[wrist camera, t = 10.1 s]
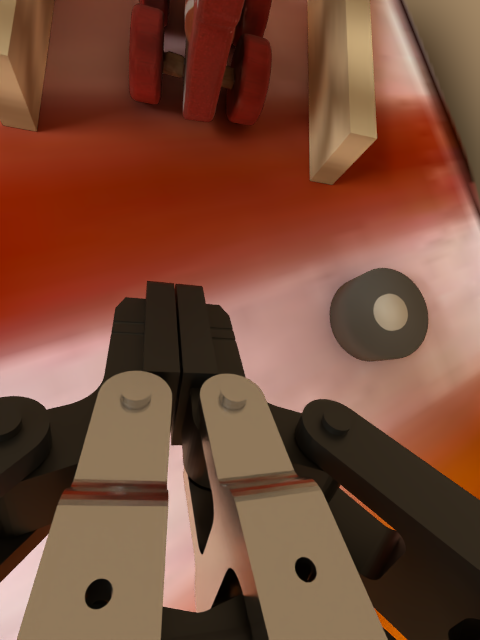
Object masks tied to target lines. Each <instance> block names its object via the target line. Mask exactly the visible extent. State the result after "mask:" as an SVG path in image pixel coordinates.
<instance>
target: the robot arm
mask: <svg viewBox="0 0 480 640" xmlns="http://www.w3.org/2000/svg"><path fill="white" fill-rule="evenodd" d="M232 329H233V328H232V325H231V321H230V317H229V315H228V314H227V313H226V312H225V311H224V310H223V309H222V308H221V306H220V305H212V304H206V303H205V297H204V292H203V287H202V286H195V285H184V284H176V285H175V288H174V283H164V282H153V281H147V288H146V299H139V298H127V297H126V298H125V299H124V300H123V301H122V302H121V303H120V304H119V305H118V306H117V307H116V308H115V314H114V320H113V327H112V334H111V339H110V345H109V351H108V357H107V363H106V369H105V375H104V379H103V381H102V383H101V385H100V386H99V387H98V389H97V390H96V391H94V392H93V393H92V394H91V395H89V396H88V397H86V398H84V399H82V400H80V401H78V402H75V403H72V404H69V405H65V406H60V407H56V408H52V409H48V410H46V409H45V407H44V406H43V405H42V404H40V403H39V402H37V401H35V400H33V399H30V398H26V397H19V396H9V397H1V398H0V582H1V581H2V580H3V579H4V578H5V577H6V576H7V575H8V574H9V573H10V572H11V571H12V570H13V569H14V568H15V567H16V566H17V565H18V564H19V563H20V562H21V561H22V560H23V559H24V558H25V557H26V556H27V555H28V554H29V553H30V552H31V551H32V550H33V549H34V548H35V547H36V546H37V545H38V544H39V543H40V542H41V541H42V540H43V539H44V538H45V537H46V536H47V535H48V534H49V535H48V538H47V541H46V545H45V548H44V551H43V555H42V558H41V561H40V564H39V568H38V571H37V574H36V578H35V581H34V584H33V588H32V591H31V594H30V598H29V601H28V604H27V607H26V611H25V614H24V617H23V621H22V624H21V627H20V631H19V634H18V637H17V640H396V639H395V638H394V637H393V636H392V635H391V634H390V633H389V632H388V631H386V630H385V629H384V628H383V627H382V625H381V623H380V621H379V619H378V616H377V614H376V612H375V610H374V608H375V609H376V610H377V611H378V612H379V613H380V614H381V615H383V616H384V617H385V618H386V619H387V620H388V621H389V622H390V623H391V624H392V625H393V626H394V627H395V628H396V629H397V630H398V631H399V632H400V633H401V634H402V635H403V636H404V637H405V638H407V639H408V640H480V500H479V499H477V498H476V497H474V496H473V495H472V494H470V493H469V492H467V491H466V490H464V489H463V488H462V487H460V486H459V485H457V484H456V483H455V482H453V481H452V480H450V479H449V478H447V477H446V476H445V475H443V474H442V473H440V472H439V471H437V470H436V469H435V468H433V467H432V466H430V465H429V464H428V463H426V462H425V461H423V460H422V459H420V458H419V457H418V456H416V455H415V454H413V453H412V452H411V451H409V450H408V449H406V448H405V447H403V446H402V445H401V444H399V443H398V442H396V441H395V440H394V439H392V438H391V437H389V436H388V435H386V434H385V433H384V432H382V431H381V430H379V429H378V428H376V427H375V426H374V425H372V424H371V423H369V422H368V421H367V420H365V419H364V418H362V417H361V416H359V415H358V414H357V413H355V412H354V411H352V410H351V409H349V408H348V407H346V406H345V405H343V404H341V403H338V402H335V401H332V400H326V399H319V400H314V401H312V402H310V403H308V404H307V405H306V406H305V408H304V410H303V412H302V413H299V412H295V411H292V410H288V409H284V408H281V407H277V406H274V405H272V404H270V403H267V401H266V399H265V396H264V394H263V392H262V391H261V389H260V388H259V387H258V386H257V385H256V384H255V383H254V382H252V381H251V380H249V379H247V378H245V374H244V370H243V366H242V362H241V359H240V355H239V351H238V347H237V343H236V341H235V336H234V332H233V331H232ZM170 432H171V445H182V449H183V463H184V471H183V479H184V486H185V493H186V500H187V507H188V514H189V521H190V528H191V536H192V543H193V550H194V557H195V604H196V612H189V611H183V610H178V609H172V608H167V607H163V589H164V571H165V553H166V535H167V518H168V490H167V473H168V457H169V440H170ZM340 485H342V486H343V487H344V488H345V489H347V490H348V491H349V492H350V493H352V494H353V495H354V496H355V497H356V498H358V499H359V500H360V501H361V502H362V503H364V504H365V505H366V506H367V507H369V508H370V509H371V510H372V511H373V512H375V513H376V514H377V515H378V516H379V517H381V518H382V519H383V520H384V521H385V522H387V523H388V524H389V525H390V526H392V527H393V528H394V529H395V530H392V529H390V528H388V527H386V526H385V525H383V524H382V523H381V522H380V521H378V520H377V519H376V518H375V517H374V516H372V515H371V514H370V513H369V512H368V511H366V510H365V509H364V508H363V507H362V506H360V505H359V504H358V503H357V502H356V501H354V500H353V499H352V498H351V497H349V496H348V495H347V494H346V493H345V492H343V491H342V490H341V489H340V488H339V487H340Z"/></svg>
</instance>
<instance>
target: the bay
mask: <svg viewBox="0 0 480 640" xmlns="http://www.w3.org/2000/svg"><path fill="white" fill-rule="evenodd" d="M54 2H55V0H0V120H1V122H2V124H3V125H4V126H9V127H15V128H20V129H26V130H32V131H37V126H38V119H39V112H40V104H41V97H42V90H43V82H44V75H45V68H46V60H47V53H48V46H49V38H50V31H51V24H52V16H53V9H54ZM307 16H308V83H309V151H310V181H314V182H319V183H325V184H330V185H333V183H334V182H335V181H336V180H337V179H338V178H339V177H340V176H341V175H342V174H343V173H344V172H345V171H346V170H347V169H348V168H349V167H350V166H351V165H352V164H353V163H354V162H355V161H356V160H357V159H358V158H359V157H360V156H361V155H362V154H363V153H364V152H365V151H366V149H367V148H368V147H369V146H370V145H371V144H372V143H373V142H374V141H375V140H376V139H377V127H376V108H375V89H374V70H373V51H372V31H371V12H370V0H307Z"/></svg>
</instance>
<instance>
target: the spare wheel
mask: <svg viewBox="0 0 480 640" xmlns="http://www.w3.org/2000/svg"><path fill="white" fill-rule="evenodd" d="M330 323H331V328H332V331H333V334H334V336H335V338H336V340H337V341H338V343H339V344H340V346H341V347H342V348H343V349H344V350H345V351H346V352H347V353H349V354H350V355H352V356H353V357H355V358H357V359H360V360H363V361H381V360H390V359H398V358H403V357H406V356H408V355H410V354H412V353H413V352H414V351H416V350H417V349H418V348H419V346H420V345H421V344H422V342H423V340H424V338H425V335H426V332H427V328H428V311H427V306H426V303H425V300H424V298H423V296H422V294H421V292H420V290H419V289H418V287H417V286H416V285H415V284H414V283H413V282H412V281H411V280H410V279H409V278H408V277H407V276H405V275H404V274H402V273H400V272H398V271H396V270H393V269H388V268H378V269H373V270H371V271H368V272H366V273H364V274H362V275H360V276H358V277H356V278H354V279H352V280H350V281H348V282H347V283H345V284H344V285H342V286H341V287H340V288H339V289H338V291H337V292H336V293H335V295H334V297H333V299H332V302H331V307H330Z"/></svg>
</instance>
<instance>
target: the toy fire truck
mask: <svg viewBox="0 0 480 640" xmlns="http://www.w3.org/2000/svg"><path fill="white" fill-rule="evenodd" d="M169 1H170V0H140V4H137V5H135V6H134V8H133V9H132V15H131V27H130V47H129V89H130V95H131V98H132V99H134V100H136V101H139V102H145V103H149V104H158V102H159V101H160V96H161V81H162V74H163V73H164V74H168V75H171V76H175V77H178V78H181V77H183V80H184V81H183V117H184V118H185V119H188V120H196V121H203V122H210V121H212V119H213V117H214V114H215V110H216V106H217V102H218V97H219V93H220V89H221V87H225V88H227V97H226V113H227V117H228V119H229V120H230V121H231V122H234V123H239V124H244V125H253V124H254V123H255V122H256V121H257V119H258V118H259V116H260V113H261V111H262V109H263V105H264V102H265V98H266V94H267V90H268V85H269V79H270V73H271V61H272V54H271V47H270V43H269V41H268V40H267V39H265V38H262V37H263V34H264V31H265V28H266V24H267V20H268V16H269V12H270V7H271V2H272V0H186V2H185V33H186V50H185V58H184V57H183V56H182V55H179V54H176V53H173V52H170V51H169V52H164V51H163V46H164V26H166V25H167V24H168V14H169ZM232 43H233V45H235V46H236V47H235V50H234V54H233V58H232V62H231V66H226V64H227V60H228V55H229V51H230V47H231V44H232Z"/></svg>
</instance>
